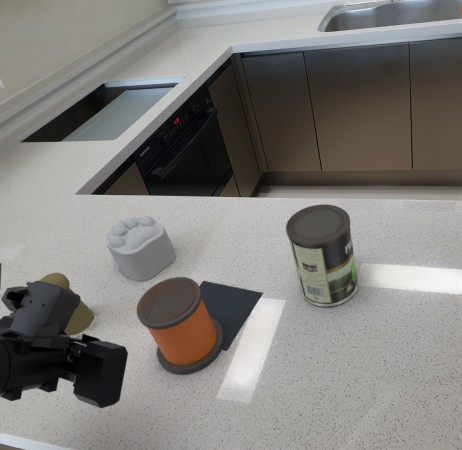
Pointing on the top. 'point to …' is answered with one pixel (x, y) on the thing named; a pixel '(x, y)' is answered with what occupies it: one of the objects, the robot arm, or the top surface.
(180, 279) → the spool
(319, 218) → the coffee can
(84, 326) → the cork
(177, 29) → the top surface
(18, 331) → the robot arm
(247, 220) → the top surface
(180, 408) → the top surface
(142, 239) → the lumpy-topped squat cylinder
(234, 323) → the mat
